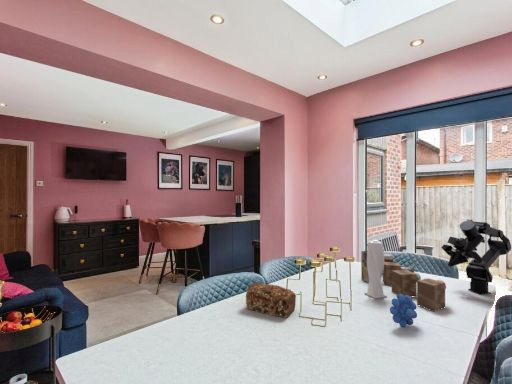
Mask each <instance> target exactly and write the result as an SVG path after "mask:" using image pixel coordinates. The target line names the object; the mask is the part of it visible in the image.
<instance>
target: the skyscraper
mask: <svg viewBox="0 0 512 384" xmlns="http://www.w3.org/2000/svg"><path fill="white" fill-rule="evenodd" d="M366 251H367V269H368V275H369V279H370V280H369V283H368V286H367V292H365V293H364V295H365V296H368V297H370V298H372V299H374V300H381V299H386V298H388V296H387V295H385V294H384V288H383V285H382V279H383V275H382V274H383V269H384V253H385V252H384V247H383V238H382V237H380V241H379V239H372V240H370V239H368V244H367V250H366Z"/></svg>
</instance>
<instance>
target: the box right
mask: <svg viewBox="0 0 512 384" xmlns="http://www.w3.org/2000/svg"><path fill="white" fill-rule="evenodd" d="M436 280H437V279H433V278H424V279H421V280H419V281H417V298H416V301H417V302H416V303H417V304H416V306H418V305H420V306H419V307H421V306H422V307H421V308H424V307H425V308H424V309H426V308H427V309H426V310H429V309H430V310H429V311H432V310H433V311H432V312H436V311H439V310H438V309H440V310H442V309H441V308H443V309H445V308H446V289H445V284H446V282H444V281H443V282H440V281H436ZM444 307H445V308H444ZM435 310H436V311H435Z"/></svg>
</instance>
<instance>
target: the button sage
mask: <svg viewBox="0 0 512 384" xmlns="http://www.w3.org/2000/svg"><path fill="white" fill-rule="evenodd" d="M414 273H415V274H417V281H419V280H422V278H421V274H420V273H419V272H418V271H417V272H416V271H414Z"/></svg>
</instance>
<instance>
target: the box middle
mask: <svg viewBox="0 0 512 384" xmlns="http://www.w3.org/2000/svg"><path fill="white" fill-rule="evenodd" d="M391 293H393V294H395V295H396V296H397V295H398V294H402V295H404V296H406V295H408V296H410V297H411V298H412V296H417V274H415V273H413V272H410V271H408V270H392V285H391Z"/></svg>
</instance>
